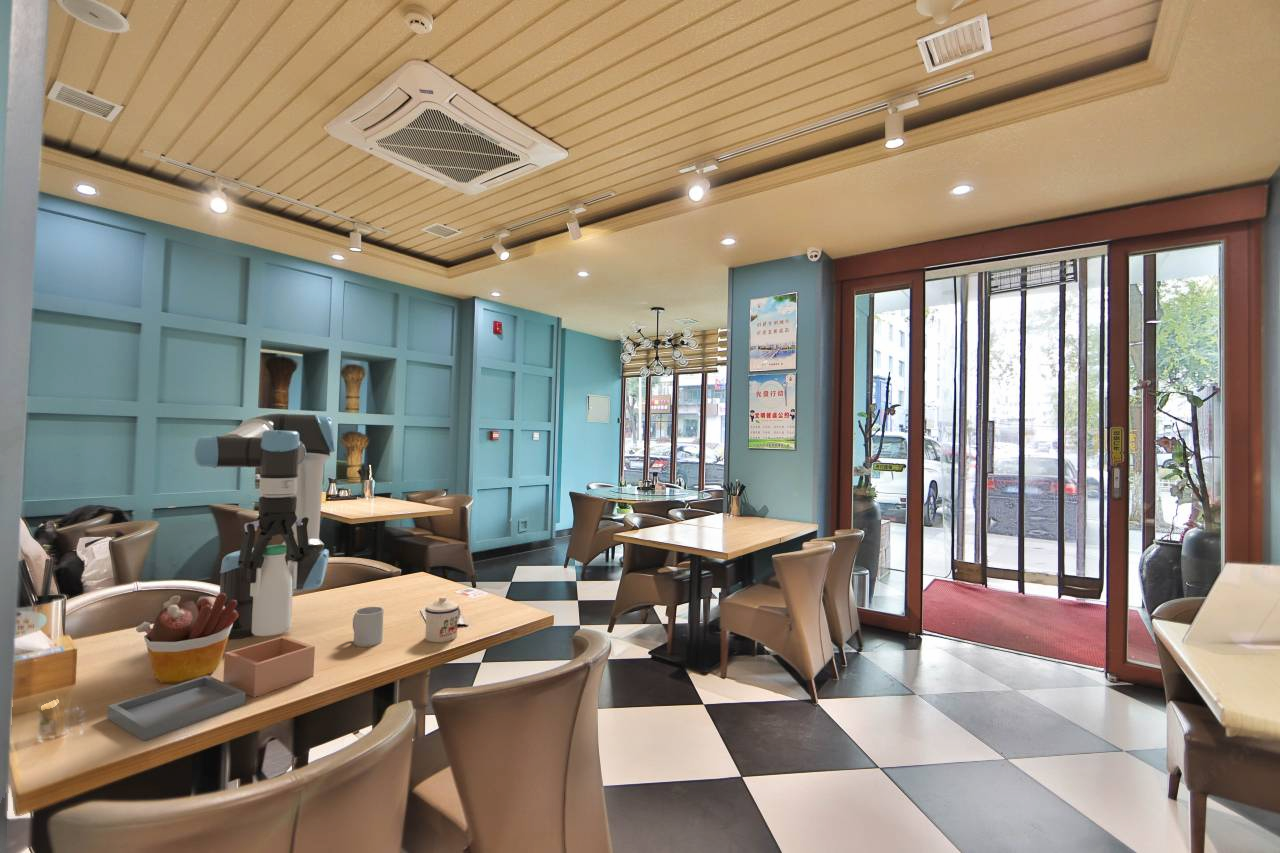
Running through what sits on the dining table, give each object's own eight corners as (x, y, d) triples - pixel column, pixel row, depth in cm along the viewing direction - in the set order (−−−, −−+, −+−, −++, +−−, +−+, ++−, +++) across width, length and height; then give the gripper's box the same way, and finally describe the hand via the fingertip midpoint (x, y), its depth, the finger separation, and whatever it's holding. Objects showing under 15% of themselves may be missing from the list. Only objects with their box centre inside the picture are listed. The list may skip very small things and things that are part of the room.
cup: (364, 649, 148) (366, 616, 148) (341, 642, 153) (342, 610, 153) (388, 641, 155) (389, 609, 155) (364, 634, 159) (366, 603, 159)
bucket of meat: (119, 682, 125) (124, 594, 125) (195, 655, 141) (199, 578, 141) (182, 696, 119) (187, 604, 120) (254, 666, 135) (258, 585, 136)
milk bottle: (291, 633, 128) (295, 547, 128) (251, 639, 123) (255, 550, 124) (290, 623, 134) (293, 541, 135) (251, 628, 130) (255, 544, 130)
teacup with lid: (442, 645, 153) (443, 603, 153) (417, 640, 156) (418, 598, 156) (470, 632, 164) (472, 593, 164) (447, 627, 167) (448, 589, 167)
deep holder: (223, 683, 126) (224, 652, 126) (282, 664, 137) (283, 636, 137) (254, 697, 119) (255, 665, 120) (313, 676, 131) (314, 646, 131)
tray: (107, 718, 109) (108, 705, 109) (207, 686, 124) (207, 675, 124) (143, 741, 102) (144, 727, 102) (245, 703, 117) (245, 692, 117)
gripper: (238, 500, 119) (233, 606, 118) (329, 493, 137) (325, 585, 136) (221, 497, 122) (215, 600, 122) (311, 491, 140) (307, 580, 140)
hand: (273, 592), depth 129 cm, fingers closed on milk bottle, 7 cm apart
